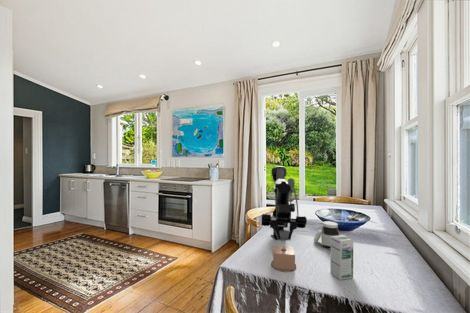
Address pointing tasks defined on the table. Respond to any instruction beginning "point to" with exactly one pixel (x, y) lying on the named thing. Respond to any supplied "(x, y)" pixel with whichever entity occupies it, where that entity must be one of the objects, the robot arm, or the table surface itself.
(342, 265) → the syrup box
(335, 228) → the spread jar
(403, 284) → the table surface
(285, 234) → the pump head
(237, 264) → the table surface
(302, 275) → the table surface
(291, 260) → the brown squat piece
